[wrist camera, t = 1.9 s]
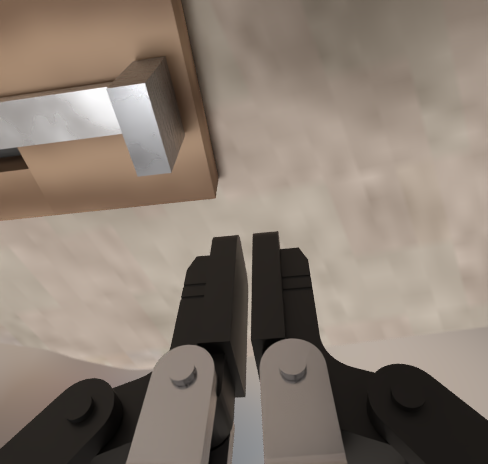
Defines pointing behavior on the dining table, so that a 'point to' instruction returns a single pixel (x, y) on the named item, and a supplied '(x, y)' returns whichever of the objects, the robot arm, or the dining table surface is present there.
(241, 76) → the dining table surface
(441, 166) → the dining table surface
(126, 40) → the deck
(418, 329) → the dining table surface
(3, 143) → the sled
